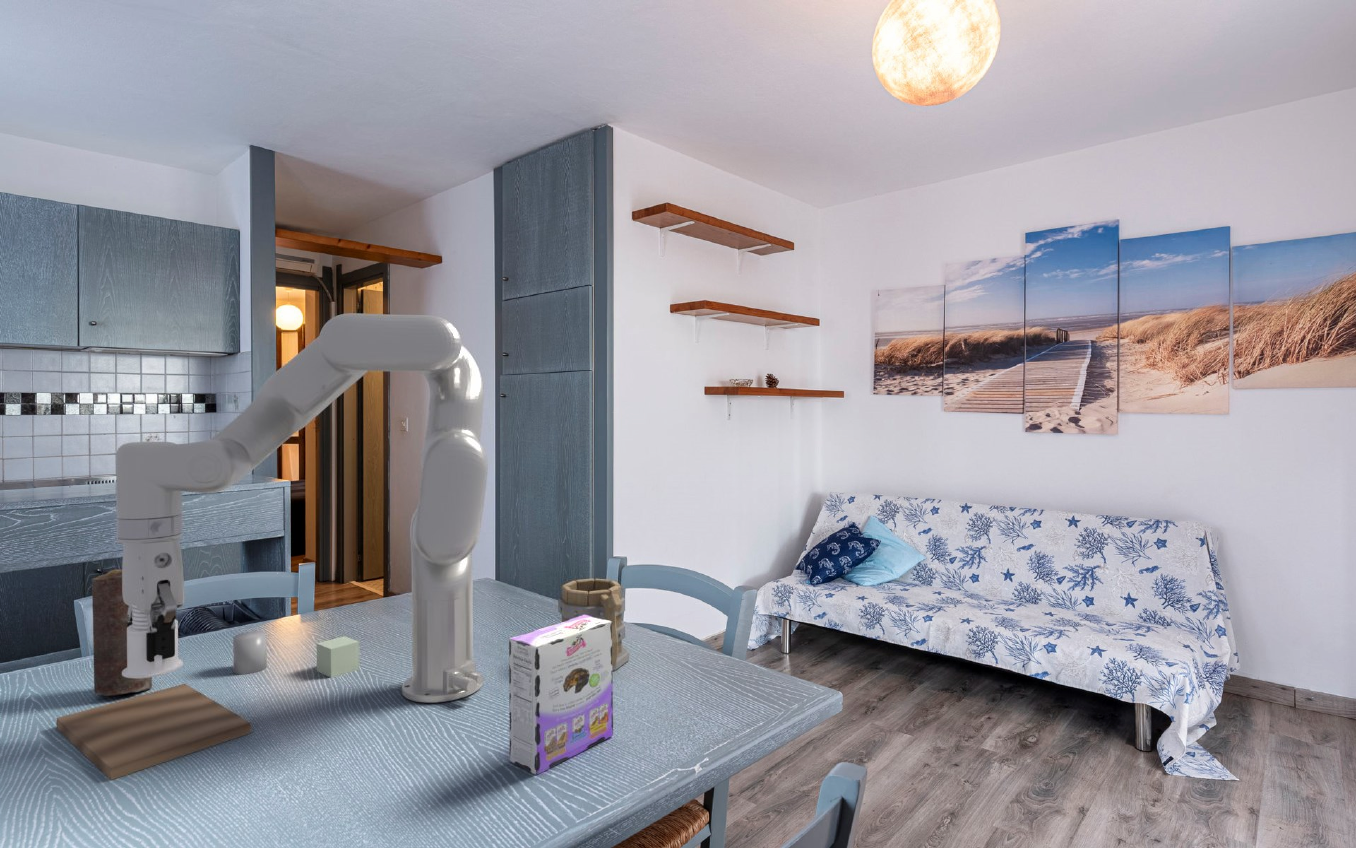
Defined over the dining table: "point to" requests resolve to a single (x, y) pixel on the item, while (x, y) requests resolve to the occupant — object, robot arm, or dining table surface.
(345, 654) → the sage block
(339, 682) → the dining table surface
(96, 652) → the brown textured cylinder
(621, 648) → the tankard
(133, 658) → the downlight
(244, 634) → the grey rounded cylinder
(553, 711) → the candy box
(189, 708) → the walnut board
